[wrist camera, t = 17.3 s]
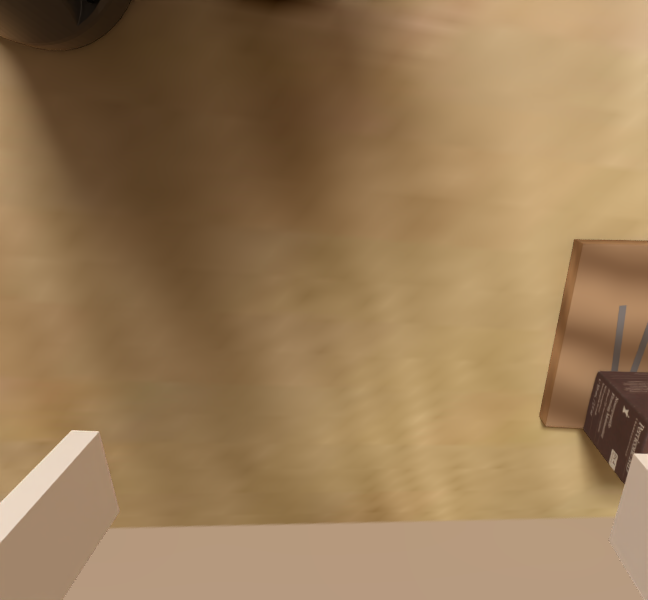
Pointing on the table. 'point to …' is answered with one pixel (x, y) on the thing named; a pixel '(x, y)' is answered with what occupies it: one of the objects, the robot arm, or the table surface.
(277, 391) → the table surface
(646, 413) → the box
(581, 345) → the board
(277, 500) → the table surface
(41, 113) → the table surface
